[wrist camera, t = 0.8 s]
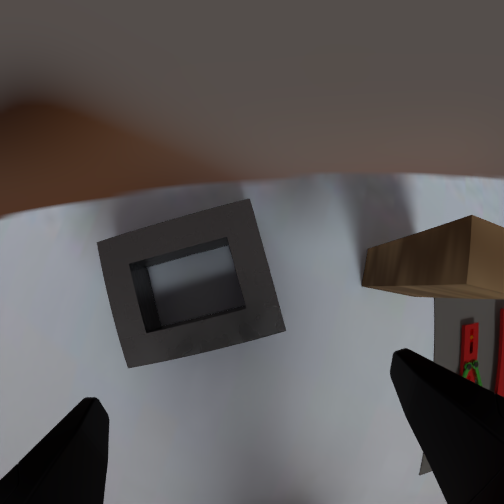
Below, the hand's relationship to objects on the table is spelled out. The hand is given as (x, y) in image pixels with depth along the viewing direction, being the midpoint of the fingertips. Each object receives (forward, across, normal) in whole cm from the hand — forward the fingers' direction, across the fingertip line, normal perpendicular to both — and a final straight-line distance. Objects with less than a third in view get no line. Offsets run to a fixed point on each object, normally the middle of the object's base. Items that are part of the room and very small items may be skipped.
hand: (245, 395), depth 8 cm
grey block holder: (+15, +3, +4) cm, 16 cm away
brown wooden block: (+14, -12, +5) cm, 20 cm away
